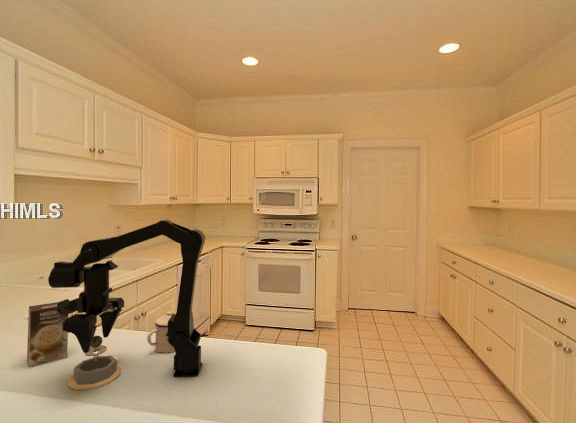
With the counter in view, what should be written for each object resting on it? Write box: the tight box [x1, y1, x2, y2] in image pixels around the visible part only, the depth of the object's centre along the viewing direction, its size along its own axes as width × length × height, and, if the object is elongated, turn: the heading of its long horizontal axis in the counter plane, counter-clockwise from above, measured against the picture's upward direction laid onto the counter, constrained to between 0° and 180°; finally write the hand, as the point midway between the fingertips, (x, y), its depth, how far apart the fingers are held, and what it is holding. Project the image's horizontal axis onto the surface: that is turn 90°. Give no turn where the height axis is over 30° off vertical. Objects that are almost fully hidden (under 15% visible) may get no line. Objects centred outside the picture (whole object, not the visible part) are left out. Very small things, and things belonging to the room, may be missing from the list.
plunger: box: [84, 335, 108, 362], centre depth 80 cm, size 5×5×7 cm
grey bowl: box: [67, 355, 122, 391], centre depth 80 cm, size 12×12×4 cm
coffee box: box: [26, 301, 69, 368], centre depth 90 cm, size 9×6×16 cm
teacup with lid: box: [146, 310, 175, 354], centre depth 97 cm, size 12×9×12 cm
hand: (96, 344), depth 80 cm, fingers open, 9 cm apart
